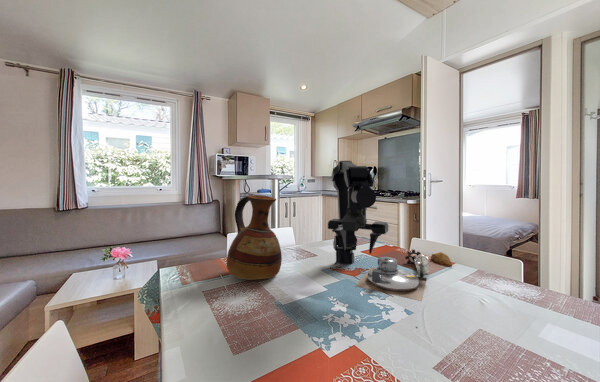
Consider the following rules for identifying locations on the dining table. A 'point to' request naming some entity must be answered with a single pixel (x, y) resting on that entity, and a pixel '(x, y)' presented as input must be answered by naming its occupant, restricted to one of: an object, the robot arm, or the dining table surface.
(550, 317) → the dining table surface
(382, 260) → the cover
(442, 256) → the croissant
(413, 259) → the valve
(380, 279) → the turntable
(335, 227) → the robot arm
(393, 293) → the base board
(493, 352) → the dining table surface
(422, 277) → the dial gauge
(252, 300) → the dining table surface
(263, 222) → the ceramic pitcher
